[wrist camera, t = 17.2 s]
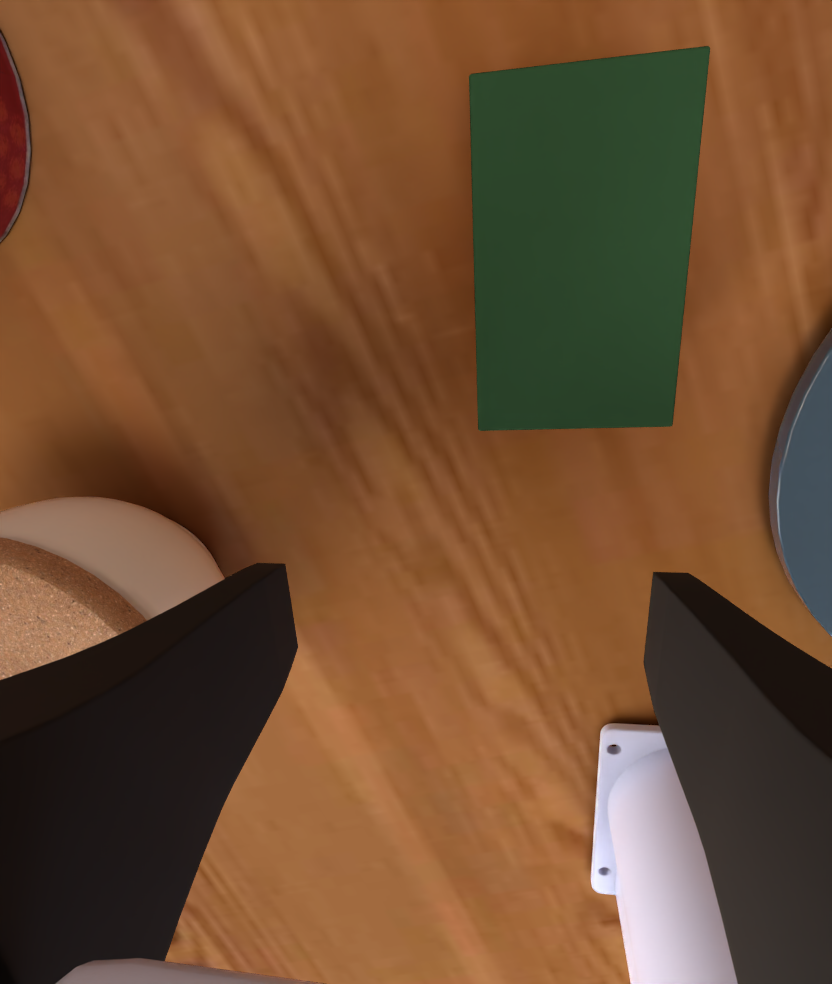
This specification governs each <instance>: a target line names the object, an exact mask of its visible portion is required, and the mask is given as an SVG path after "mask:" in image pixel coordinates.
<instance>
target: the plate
mask: <svg viewBox="0 0 832 984" xmlns="http://www.w3.org/2000/svg"><path fill="white" fill-rule="evenodd" d="M769 507H770V524H771V529H772V533H773V538H774V542H775V546H776V551H777V555H778V557H779V560H780V562H781V564H782V567H783V569H784V572H785V574H786V576H787V579H788V581H789V583H790V584H791V586H792V587H793V589H794V591H795V592H796V594H797V595H798V597H799V599H800V600H801V602H802V603H803V605H804V606H805V607H806V608H807V610H808V611H809V612H810V613H811V614H812V616H813V617H814V618H815V619H816V620H817V621H818V622H819V623H820V625H821V626H822V627H823V628H824V629H825V630H826V631H827V632H828V634H829V635H830V636H831V637H832V328H831V330H830V331H829V333H828V334H827V336H826V337H825V338H824V340H823V341H822V343H821V344H820V346H819V347H818V348H817V350H816V351H815V353H814V354H813V356H812V358H811V360H810V362H809V364H808V365H807V367H806V369H805V371H804V373H803V375H802V376H801V378H800V380H799V382H798V384H797V386H796V388H795V389H794V392H793V394H792V397H791V399H790V402H789V404H788V407H787V410H786V412H785V415H784V417H783V420H782V422H781V425H780V429H779V433H778V437H777V441H776V445H775V449H774V453H773V457H772V464H771V474H770V485H769Z"/></svg>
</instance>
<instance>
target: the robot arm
mask: <svg viewBox="0 0 832 984" xmlns="http://www.w3.org/2000/svg"><path fill="white" fill-rule="evenodd" d="M297 649H298V644H297V637H296V631H295V624H294V618H293V611H292V605H291V598H290V592H289V585H288V579H287V572H286V566H285V564H274V563H256V564H254V565H251V566H249V567H247V568H245V569H243V570H241V571H239V572H237V573H235V574H233V575H231V576H229V577H227V578H225V579H224V580H222V581H220V582H218V583H216V584H215V585H213V586H211V587H209V588H207V589H206V590H204V591H202V592H200V593H198V594H197V595H195V596H193V597H191V598H189V599H188V600H186V601H184V602H182V603H180V604H178V605H177V606H175V607H173V608H171V609H169V610H167V611H165V612H163V613H161V614H159V615H157V616H155V617H153V618H151V619H149V620H147V621H145V622H143V623H142V624H140V625H138V626H136V627H134V628H132V629H130V630H128V631H126V632H123V633H121V634H119V635H117V636H115V637H113V638H110V639H108V640H106V641H104V642H101V643H99V644H97V645H94V646H92V647H89V648H87V649H85V650H82V651H80V652H77V653H75V654H72V655H70V656H67V657H65V658H62V659H59V660H56V661H54V662H51V663H48V664H45V665H42V666H39V667H36V668H34V669H31V670H28V671H25V672H22V673H19V674H16V675H13V676H11V677H8V678H5V679H2V680H0V984H325V983H317V982H310V981H303V980H296V979H288V978H281V977H274V976H267V975H259V974H252V973H245V972H238V971H230V970H223V969H216V968H209V967H201V966H194V965H187V964H180V963H172V962H165V958H166V955H167V953H168V950H169V947H170V944H171V941H172V938H173V935H174V932H175V929H176V926H177V924H178V921H179V918H180V915H181V912H182V910H183V907H184V904H185V902H186V899H187V896H188V894H189V891H190V888H191V886H192V883H193V880H194V878H195V875H196V872H197V870H198V867H199V864H200V862H201V859H202V857H203V854H204V852H205V849H206V847H207V844H208V842H209V839H210V837H211V834H212V832H213V829H214V827H215V824H216V822H217V819H218V817H219V815H220V812H221V810H222V807H223V805H224V803H225V801H226V799H227V797H228V795H229V793H230V791H231V788H232V786H233V784H234V782H235V781H236V779H237V777H238V775H239V773H240V771H241V769H242V767H243V765H244V764H245V762H246V760H247V758H248V756H249V754H250V752H251V750H252V748H253V747H254V745H255V743H256V741H257V739H258V737H259V735H260V733H261V731H262V730H263V728H264V726H265V724H266V722H267V720H268V718H269V716H270V714H271V712H272V710H273V708H274V706H275V705H276V703H277V701H278V699H279V697H280V695H281V693H282V691H283V688H284V686H285V683H286V680H287V678H288V675H289V672H290V670H291V667H292V664H293V661H294V658H295V655H296V652H297ZM644 667H645V672H646V677H647V682H648V687H649V691H650V695H651V700H652V704H653V708H654V712H655V715H656V718H657V721H658V723H659V726H657V725H638V724H620V723H611V724H607V725H605V726H604V727H603V728H602V729H601V732H600V747H599V762H598V777H597V791H596V806H595V821H594V836H593V851H592V865H591V885H592V888H593V889H594V890H595V891H596V892H598V893H602V894H611V895H616V899H617V905H618V910H619V916H620V922H621V928H622V934H623V940H624V946H625V952H626V958H627V964H628V970H629V976H630V982H631V984H832V668H830V667H828V666H826V665H825V664H823V663H821V662H820V661H818V660H817V659H815V658H813V657H812V656H810V655H808V654H807V653H805V652H804V651H802V650H800V649H799V648H797V647H796V646H794V645H792V644H791V643H789V642H788V641H786V640H785V639H783V638H782V637H780V636H778V635H777V634H775V633H774V632H772V631H771V630H769V629H768V628H767V627H765V626H764V625H762V624H761V623H759V622H758V621H756V620H755V619H753V618H752V617H751V616H749V615H748V614H746V613H745V612H744V611H742V610H741V609H739V608H738V607H736V606H735V605H734V604H732V603H731V602H730V601H728V600H727V599H725V598H724V597H723V596H721V595H720V594H718V593H717V592H716V591H714V590H713V589H711V588H710V587H709V586H707V585H706V584H704V583H703V582H702V581H700V580H699V579H697V578H696V577H694V576H692V575H691V574H689V573H668V572H653V579H652V588H651V598H650V607H649V617H648V626H647V635H646V645H645V654H644ZM613 744H616V745H617V746H615V747H611V746H610V745H613Z"/></svg>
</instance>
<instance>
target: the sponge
mask: <svg viewBox="0 0 832 984" xmlns="http://www.w3.org/2000/svg"><path fill="white" fill-rule="evenodd" d="M709 54H710V47H709V46H704V47H695V48H687V49H678V50H670V51H662V52H653V53H645V54H636V55H628V56H619V57H611V58H602V59H594V60H585V61H577V62H568V63H560V64H551V65H543V66H534V67H526V68H517V69H509V70H500V71H492V72H483V73H475V74H471V75H470V76H469V92H470V131H471V170H472V208H473V247H474V286H475V325H476V364H477V403H478V429H479V430H480V431H490V430H534V429H579V428H624V427H668V426H672V424H673V415H674V405H675V395H676V385H677V375H678V365H679V355H680V345H681V335H682V325H683V315H684V305H685V295H686V285H687V275H688V265H689V255H690V245H691V235H692V225H693V215H694V205H695V195H696V185H697V175H698V165H699V155H700V145H701V135H702V125H703V115H704V105H705V95H706V85H707V75H708V64H709Z"/></svg>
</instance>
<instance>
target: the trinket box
mask: <svg viewBox="0 0 832 984" xmlns="http://www.w3.org/2000/svg"><path fill="white" fill-rule="evenodd" d="M224 579H225V578H224V576H223V574H222V573H221V571H220V569H219V568H218V566H217V564H216V562H215V560H214V558H213V557H212V555H211V553H210V552H209V551H208V549H207V548H206V547H205V546H204V544H203V543H202V542H201V541H200V540H199V539H198V538H197V537H196V536H195V535H193V534H192V533H191V532H190V531H188V530H187V529H186V528H184V527H183V526H181V525H179V524H178V523H176V522H174V521H172V520H170V519H168V518H166V517H164V516H163V515H161V514H159V513H157V512H154V511H152V510H150V509H147V508H145V507H143V506H139V505H136V504H132V503H128V502H125V501H120V500H116V499H109V498H101V497H61V498H54V499H49V500H44V501H39V502H35V503H30V504H25V505H20V506H16V507H13V508H10V509H7V510H4V511H1V512H0V680H2V679H5V678H8V677H11V676H13V675H16V674H19V673H22V672H25V671H28V670H31V669H34V668H36V667H39V666H42V665H45V664H48V663H51V662H54V661H56V660H59V659H62V658H65V657H67V656H70V655H72V654H75V653H77V652H80V651H82V650H85V649H87V648H89V647H92V646H94V645H97V644H99V643H101V642H104V641H106V640H108V639H110V638H113V637H115V636H117V635H119V634H121V633H123V632H126V631H128V630H130V629H132V628H134V627H136V626H138V625H140V624H142V623H143V622H145V621H147V620H149V619H151V618H153V617H155V616H157V615H159V614H161V613H163V612H165V611H167V610H169V609H171V608H173V607H175V606H177V605H178V604H180V603H182V602H184V601H186V600H188V599H189V598H191V597H193V596H195V595H197V594H198V593H200V592H202V591H204V590H206V589H207V588H209V587H211V586H213V585H215V584H216V583H218V582H220V581H222V580H224Z"/></svg>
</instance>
